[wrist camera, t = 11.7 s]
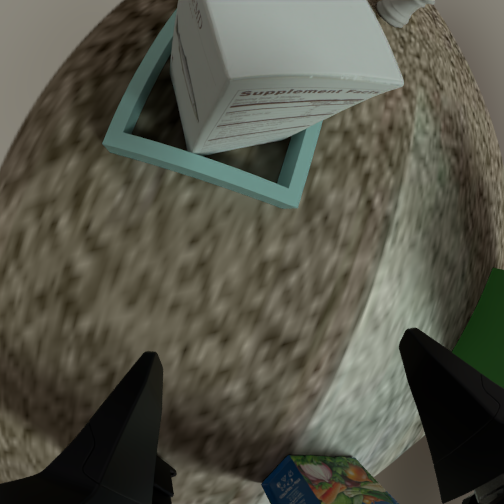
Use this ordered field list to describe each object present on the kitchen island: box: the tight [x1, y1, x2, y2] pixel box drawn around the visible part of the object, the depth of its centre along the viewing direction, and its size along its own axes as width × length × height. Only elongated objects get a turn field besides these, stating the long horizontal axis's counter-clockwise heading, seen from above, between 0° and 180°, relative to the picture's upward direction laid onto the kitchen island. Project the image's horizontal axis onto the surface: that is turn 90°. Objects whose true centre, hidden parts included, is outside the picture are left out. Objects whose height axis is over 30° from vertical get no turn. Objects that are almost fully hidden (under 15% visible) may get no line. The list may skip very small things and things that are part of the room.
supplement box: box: [170, 0, 404, 156], centre depth 12 cm, size 7×7×13 cm
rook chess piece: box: [377, 0, 435, 28], centre depth 18 cm, size 4×4×8 cm
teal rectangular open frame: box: [102, 9, 323, 209], centre depth 17 cm, size 13×13×2 cm
